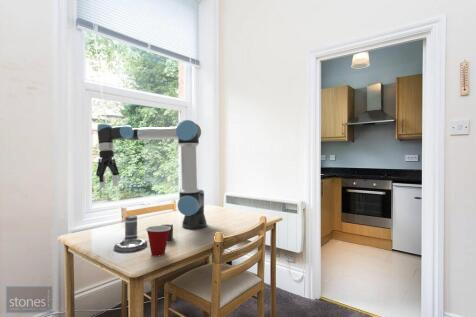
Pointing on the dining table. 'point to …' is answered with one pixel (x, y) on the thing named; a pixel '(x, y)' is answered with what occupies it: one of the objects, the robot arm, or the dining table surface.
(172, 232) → the box
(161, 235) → the plastic cup
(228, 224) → the dining table surface
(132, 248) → the mount plate
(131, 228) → the lens
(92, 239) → the dining table surface
